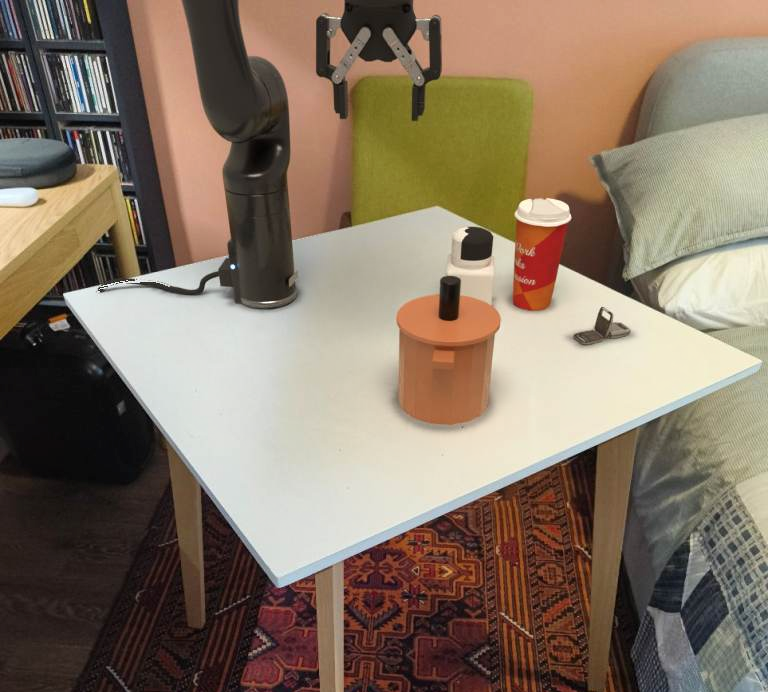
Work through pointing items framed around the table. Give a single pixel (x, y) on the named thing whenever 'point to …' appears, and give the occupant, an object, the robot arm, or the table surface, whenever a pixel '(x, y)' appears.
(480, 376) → the pot
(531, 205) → the coffee cup
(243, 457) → the table surface
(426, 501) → the table surface
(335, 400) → the table surface
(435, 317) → the lid
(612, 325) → the strap clip
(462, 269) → the medicine bottle
